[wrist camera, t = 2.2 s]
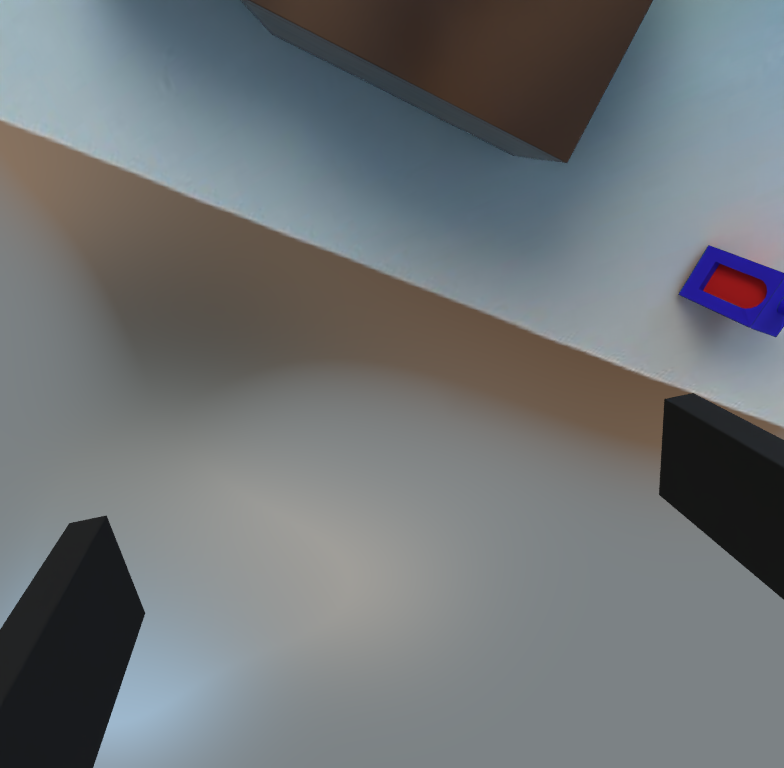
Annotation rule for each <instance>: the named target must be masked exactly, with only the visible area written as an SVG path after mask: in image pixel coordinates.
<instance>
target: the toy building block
mask: <svg viewBox="0 0 784 768" xmlns="http://www.w3.org/2000/svg"><path fill="white" fill-rule="evenodd" d="M678 295H680V296H682V297H685V298H687V299H689V300H691V301H693V302H695V303H697V304H700V305H702V306H704V307H706V308H708V309H710V310H712V311H715V312H717V313H719V314H721V315H723V316H725V317H727V318H730V319H732V320H734V321H736V322H738V323H740V324H742V325H745V326H747V327H749V328H751V329H754V330H757V331H760V332H763V333H766V334H768V335H771V336H774V337H777V335H778V334H779V332H780V331H781V330H782V328H783V327H784V273H782V272H779V271H777V270H774V269H771V268H769V267H766V266H763V265H761V264H758V263H755V262H752V261H750V260H747V259H744V258H742V257H739V256H736V255H734V254H731V253H728V252H726V251H723V250H720V249H717V248H715V247H712V246H709V245H708V247H707V249H706V250H705V252H704V253H703V255H702V257H701V258H700V260H699V262H698V263H697V265H696V266H695V268H694V270H693V271H692V273H691V275H690V276H689V278H688V279H687V281H686V283H685V284H684V286H683V288H682V289H681V291H680V292H679V294H678Z"/></svg>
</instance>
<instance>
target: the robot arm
mask: <svg viewBox="0 0 784 768" xmlns="http://www.w3.org/2000/svg"><path fill="white" fill-rule="evenodd" d="M664 401H665V402H664V418H663V436H662V453H661V471H660V488H659V495H660V496H661V497H662V498H664V499H665V500H666V501H667V502H668V503H670V504H671V505H672V506H673V507H674V508H676V509H677V510H678V511H679V512H680V513H681V514H683V515H684V516H685V517H686V518H687V519H689V520H690V521H691V522H692V523H694V524H695V525H696V526H697V527H698V528H699V529H701V530H702V531H703V532H704V533H705V534H707V535H708V536H709V537H710V538H712V540H714V541H715V542H716V543H717V544H718V545H720V546H721V547H722V548H723V549H724V550H725V551H727V552H728V553H729V554H730V555H731V556H733V557H734V558H735V559H736V560H737V561H738V562H740V563H741V564H742V565H743V566H744V567H746V568H747V569H748V570H749V571H750V572H752V573H753V574H754V575H755V576H756V577H758V578H759V579H760V580H761V581H762V582H763V583H765V584H766V585H767V586H768V587H769V588H771V589H772V590H773V591H774V592H775V593H777V594H778V595H779V596H780V597H782V598H783V599H784V440H782V439H780V438H779V437H776V436H775V435H773V434H771V433H769V432H767V431H765V430H763V429H761V428H759V427H757V426H755V425H753V424H751V423H750V422H748V421H746V420H744V419H742V418H740V417H738V416H736V415H734V414H732V413H730V412H728V411H727V410H725V409H723V408H721V407H719V406H717V405H715V404H713V403H711V402H709V401H707V400H705V399H703V398H701V397H700V396H698V395H696V394H694V393H692V394H688V395H682V396H677V397H673V398H668V399H665V400H664ZM144 615H145V612H144V609H143V607H142V604H141V602H140V599H139V596H138V594H137V591H136V589H135V586H134V584H133V582H132V579H131V576H130V574H129V572H128V569H127V566H126V564H125V561H124V559H123V556H122V554H121V551H120V548H119V546H118V543H117V542H116V538H115V536H114V533H113V531H112V528H111V526H110V523H109V521H108V518H107V516H102V517H98V518H92V519H88V520H83V521H78V522H73V523H69V525H68V526H67V528H66V529H65V531H64V532H63V534H62V535H61V537H60V539H59V540H58V542H57V543H56V545H55V546H54V548H53V549H52V551H51V552H50V554H49V555H48V557H47V558H46V560H45V562H44V563H43V565H42V566H41V568H40V569H39V571H38V572H37V574H36V575H35V577H34V579H33V580H32V582H31V583H30V585H29V586H28V588H27V589H26V591H25V592H24V594H23V595H22V597H21V598H20V600H19V602H18V603H17V605H16V606H15V608H14V609H13V611H12V612H11V614H10V615H9V617H8V618H7V620H6V622H5V623H4V625H3V627H2V628H1V629H0V768H93V766H94V763H95V760H96V757H97V754H98V751H99V748H100V745H101V742H102V739H103V737H104V734H105V731H106V728H107V724H108V722H109V719H110V716H111V712H112V710H113V707H114V704H115V701H116V698H117V695H118V692H119V689H120V686H121V683H122V680H123V677H124V674H125V671H126V668H127V665H128V662H129V660H130V657H131V654H132V651H133V648H134V645H135V642H136V639H137V636H138V633H139V630H140V627H141V624H142V621H143V618H144Z"/></svg>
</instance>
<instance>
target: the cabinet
mask: <svg viewBox="0 0 784 768" xmlns="http://www.w3.org/2000/svg"><path fill="white" fill-rule="evenodd" d="M241 1H242V3H243V4H244V5H245V6H246V7H247V8H248V9H249V10H250V11H251V12H252V13H253V15H254V16H255V17H256V18H257V19H258V20H259V21H260V22H261V23H262V24H263V25H264V26H265V28H266V29H267V30H268V31H269V32H270V33H271V34H272V35H274V36H276V37H278V38H280V39H282V40H284V41H286V42H288V43H290V44H292V45H294V46H296V47H298V48H300V49H302V50H304V51H306V52H308V53H310V54H312V55H314V56H316V57H318V58H320V59H322V60H324V61H326V62H328V63H330V64H332V65H334V66H336V67H338V68H340V69H342V70H344V71H346V72H348V73H350V74H352V75H354V76H356V77H358V78H360V79H362V80H364V81H366V82H368V83H370V84H372V85H374V86H376V87H378V88H380V89H382V90H384V91H386V92H388V93H390V94H392V95H394V96H396V97H398V98H400V99H401V100H403V101H405V102H407V103H409V104H411V105H413V106H415V107H417V108H419V109H421V110H423V111H425V112H427V113H429V114H431V115H433V116H435V117H437V118H439V119H441V120H443V121H445V122H447V123H449V124H451V125H453V126H455V127H457V128H459V129H461V130H463V131H465V132H467V133H469V134H471V135H473V136H475V137H477V138H479V139H481V140H483V141H485V142H487V143H489V144H491V145H493V146H495V147H497V148H499V149H501V150H503V151H505V152H507V153H509V154H511V155H513V156H518V157H526V158H533V159H540V160H548V161H555V162H562V163H567V162H568V161H569V159H570V157H571V155H572V153H573V151H574V149H575V147H576V145H577V143H578V142H579V140H580V138H581V136H582V134H583V132H584V130H585V128H586V126H587V125H588V123H589V121H590V119H591V117H592V115H593V113H594V111H595V109H596V107H597V106H598V104H599V102H600V100H601V98H602V96H603V94H604V92H605V90H606V89H607V87H608V85H609V83H610V81H611V79H612V77H613V75H614V73H615V72H616V70H617V68H618V66H619V64H620V62H621V60H622V58H623V56H624V54H625V53H626V51H627V49H628V47H629V45H630V43H631V41H632V39H633V37H634V36H635V34H636V32H637V30H638V28H639V26H640V24H641V22H642V20H643V18H644V17H645V15H646V13H647V11H648V9H649V7H650V5H651V3H652V1H653V0H241Z"/></svg>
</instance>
